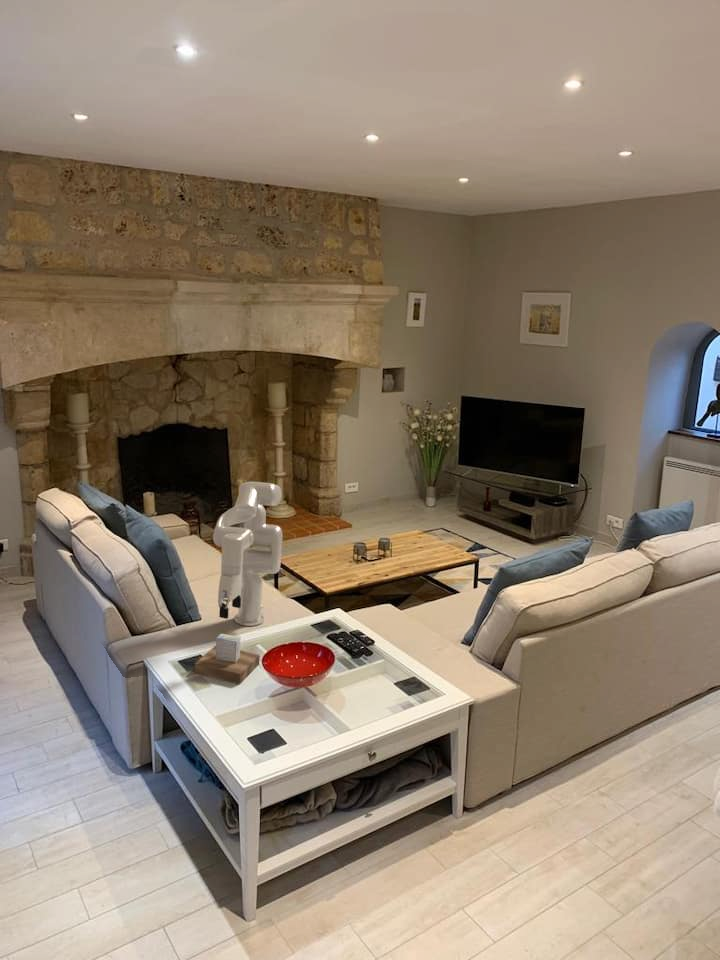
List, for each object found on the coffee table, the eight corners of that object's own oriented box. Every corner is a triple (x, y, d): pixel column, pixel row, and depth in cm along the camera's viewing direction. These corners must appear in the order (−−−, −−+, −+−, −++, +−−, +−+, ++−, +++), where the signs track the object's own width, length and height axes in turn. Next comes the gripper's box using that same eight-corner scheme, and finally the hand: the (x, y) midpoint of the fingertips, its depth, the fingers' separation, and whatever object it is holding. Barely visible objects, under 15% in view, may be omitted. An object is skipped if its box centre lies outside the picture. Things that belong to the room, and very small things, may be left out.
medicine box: (240, 657, 267) (241, 636, 265) (235, 663, 263) (236, 641, 261) (219, 654, 269) (220, 632, 267) (215, 659, 264) (216, 638, 262)
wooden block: (216, 654, 277) (216, 644, 276) (259, 664, 272) (259, 654, 271) (194, 673, 262) (195, 663, 261) (239, 684, 257) (240, 674, 256)
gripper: (233, 558, 267) (231, 601, 271) (210, 574, 250) (209, 619, 255) (252, 562, 265) (250, 605, 269) (230, 578, 248) (228, 624, 253)
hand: (230, 612), depth 262 cm, fingers open, 9 cm apart
